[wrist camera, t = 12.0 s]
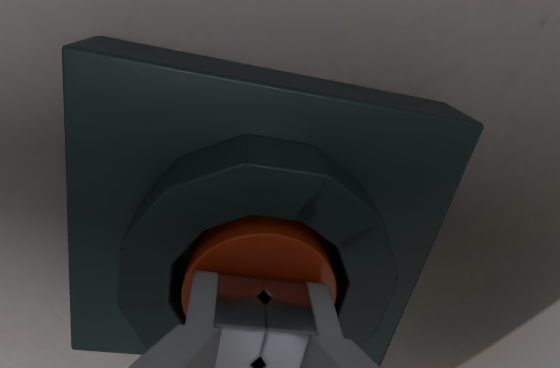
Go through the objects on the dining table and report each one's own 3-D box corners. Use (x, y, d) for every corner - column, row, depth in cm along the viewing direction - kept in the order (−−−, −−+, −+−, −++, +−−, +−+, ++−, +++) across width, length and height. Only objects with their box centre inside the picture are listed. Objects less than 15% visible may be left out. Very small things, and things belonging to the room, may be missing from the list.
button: (338, 206, 10) (355, 244, 9) (307, 311, 12) (317, 360, 10) (198, 186, 10) (189, 224, 8) (184, 299, 11) (174, 349, 10)
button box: (446, 102, 12) (534, 150, 8) (361, 324, 15) (396, 424, 12) (96, 34, 10) (13, 56, 7) (95, 300, 14) (42, 406, 10)
